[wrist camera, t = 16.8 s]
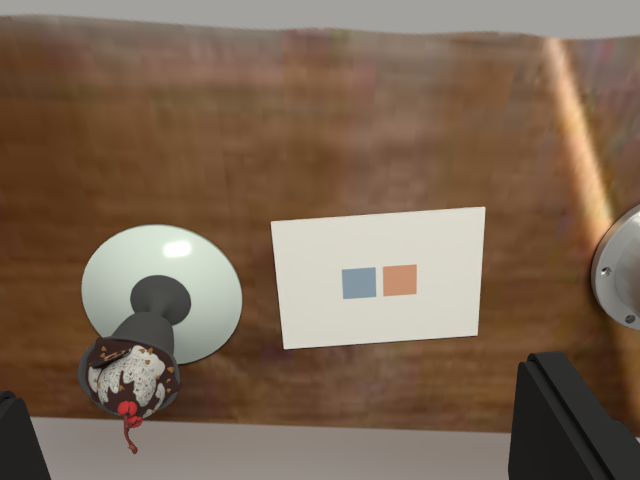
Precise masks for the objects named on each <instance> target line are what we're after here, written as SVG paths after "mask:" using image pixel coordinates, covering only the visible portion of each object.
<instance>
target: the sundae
mask: <svg viewBox="0 0 640 480" xmlns="http://www.w3.org/2000/svg"><path fill="white" fill-rule="evenodd" d="M130 302H131V306H132V309H133V311H134V312H135V313H134V314H132V315H130V316H129V317H128V318H126V319H125V320H124V321H123V322H122V323H121V324H120V325H119V326H118V328H117V329H116V330H115V331H114V333H113V334H112V335H111V336H108V337H103V338H102V337H99V338H97V340H96V342H95V343H94V344H92V345H91V346H90V347H89V348H88V350H87V351H86V352H85V354H84V355H83V357H82V358H81V360H80V363H79V366H78V373H77V377H78V380H79V383H80V385H81V387H82V389H83V390H84V391H85V393H86V394H87V395H88V396H89V397H90V398H91V399H92V400H93V402H94V403H95V404H96V405H98V406H99V407H100V408H101V409H103V410H104V411H106V412H108V413H109V414H111V415H115V416H118V417H123V418H124V434H125V437H126V439H127V441H128V443H129V449H131V450H132V452H133V454H136V453H137V451H138V450H137V447H136V446H135V445H134V444H133V443H132V442H131V441H130V439H129V437H128V431H129V429H130V428H135V427H138V426H140V425H141V423H142V421H143V418H145V417H147V416H149V415H151V414H154V413H155V412H157V411H160V410H162V409H164V408H166V407H167V406H168V405H170V404H171V403H172V402H173V400H174V399H175V398H176V396H177V393H178V391H179V390H180V388H181V382H180V374H179V368H178V364H177V362H176V359H175V358H174V356H173V354H174V332H173V328H172V326H173V325H176V324H178V323H180V322H182V321H183V320H184V319H185V318H186V317H187V315H188V314H189V311H190V309H191V298H190V294H189V292H188V291H187V289H186V288H185V287H184V285H183V284H181V283H180V282H179V281H177V280H176V279H174V278H171V277H168V276H164V275H152V276H148V277H145V278H143V279H141V280H140V281H138V282H137V283H136V285H135V286H134V287H133V289H132V291H131V296H130ZM126 425H127V426H128V427H127V428H126Z"/></svg>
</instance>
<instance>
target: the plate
mask: <svg viewBox="0 0 640 480" xmlns="http://www.w3.org/2000/svg"><path fill="white" fill-rule="evenodd" d="M152 275H164V276H168V277H171V278H174V279H176V280H177V281H179V282H180V283H181V284H183V285H184V287H185V288H186V289H187V291H188V292H189V294H190V298H191V309H190V311H189V314H188V315H187V317H186V318H185V319H184V320H183V321H182V322H180V323H178V324H176V325H173V326H172V328H173V332H174V354H173V356H174V358H175V359H176V362H177V364H183V363H188V362H192V361H196V360H198V359H201V358H204V357H206V356H207V355H209V354H211V353H213V352H214V351H216V350H217V349H219V348H220V347H221V346H222V345H223V344H224V343H225V342H226V341H227V340H228V339H229V337H230V336H231V335H232V333H233V332H234V330H235V328H236V326H237V323H238V321H239V318H240V314H241V309H242V288H241V284H240V280H239V277H238V275H237V272H236V270H235V268H234V267H233V265H232V263H231V262H230V260H229V259H228V258H227V256H226V255H225V254H224V253H223V252H222V251H221V250H220V249H219V248H218V247H217V246H216V245H214V244H213V243H212V242H211V241H209V240H208V239H206V238H205V237H203V236H201V235H199V234H197V233H195V232H193V231H190V230H188V229H185V228H182V227H177V226H173V225H166V224H147V225H139V226H135V227H131V228H128V229H126V230H123V231H121V232H119V233H117V234H115V235H114V236H112V237H110V238H109V239H108V240H107V241H105V242H104V243H103V244H102V245H101V246H100V247H99V248H98V249H97V250H96V252H95V253H94V254H93V256H92V257H91V259H90V260H89V262H88V264H87V266H86V269H85V272H84V275H83V279H82V299H83V304H84V308H85V311H86V313H87V316H88V318H89V320H90V321H91V323H92V325H93V326H94V328H95V329H96V330H97V332H98V333H99V334H100V335H101V336H102V337H108V336H111V335H112V334H113V333H114V331H115V330H116V329H117V328H118V326H119V325H120V324H121V323H122V322H123V321H124V320H125V319H126V318H128V317H129V316H130V315H132V314H134V313H135V312H134V311H133V309H132V306H131V302H130V296H131V291H132V289H133V287H134V286H135V285H136V283H137V282H138V281H140V280H141V279H143V278H145V277H148V276H152Z"/></svg>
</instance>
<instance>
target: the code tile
mask: <svg viewBox="0 0 640 480" xmlns="http://www.w3.org/2000/svg"><path fill="white" fill-rule="evenodd" d="M484 221H485V207H473V208H458V209H444V210H430V211H415V212H401V213H387V214H372V215H358V216H344V217H329V218H315V219H300V220H286V221H272V222H271V229H272V239H273V249H274V258H275V268H276V277H277V287H278V297H279V306H280V316H281V325H282V335H283V345H284V349H294V348H308V347H322V346H336V345H350V344H364V343H378V342H392V341H406V340H421V339H435V338H449V337H463V336H477V334H478V318H479V301H480V285H481V269H482V253H483V237H484Z"/></svg>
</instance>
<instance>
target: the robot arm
mask: <svg viewBox="0 0 640 480" xmlns="http://www.w3.org/2000/svg"><path fill="white" fill-rule="evenodd" d="M591 285H592V289H593V293H594V296H595V298H596V299H597V301H598V303H599V305H600V306H601V307H602V308H603V309H604V311H605V312H606V313H607V314H608V315H609V316H610V317H611V318H613V319H614V320H615V321H616V322H618V323H620V324H621V325H623V326H625V327H628V328H632V329H635V330H639V331H640V204H639V205H637V206H636V207H634V208H632V209H631V210H629V211H628V212H627V213H626V214H625V215H623V216H622V217H621V218H620V219H619V220H617V221H616V223H615V224H614V225H613V226H612V227H611V228H610V229H609V231H608V232H607V233H606V235H605V236H604V238H603V239H602V241H601V242H600V244H599V246H598V248H597V251H596V253H595V256H594V259H593V263H592V268H591ZM508 474H509V480H640V443H639V442H638V441H637V439H636V438H635V437H634V435H633V434H632V433H631V431H630V430H629V429H628V428H627V427H626V426H625V425H624V424H623V423H622V422H620V421H618V420H612V419H611V417H610V416H609V414H608V413H607V412H606V410H605V409H604V408H603V406H602V405H601V403H600V402H599V401H598V399H597V398H596V397H595V395H594V394H593V392H592V391H591V390H590V388H589V387H588V386H587V384H586V383H585V382H584V380H583V379H582V377H581V376H580V375H579V373H578V372H577V371H576V369H575V368H574V366H573V365H572V364H571V362H570V361H569V360H568V358H567V357H566V355H565V354H564V353H563V352H560V351H558V352H544V353H531V354H529V356H528V358H527V362H520V363H519V366H518V373H517V383H516V393H515V403H514V413H513V423H512V433H511V443H510V453H509V464H508ZM0 480H51V477H50V474H49V472H48V469H47V466H46V463H45V460H44V457H43V454H42V451H41V449H40V446H39V442H38V440H37V437H36V434H35V431H34V428H33V425H32V422H31V419H30V416H29V413H28V410H27V407H26V405H25V402H24V401H23V400H22V399H21V398H16V396H15V394H13V393H12V392H11V391H0Z"/></svg>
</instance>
